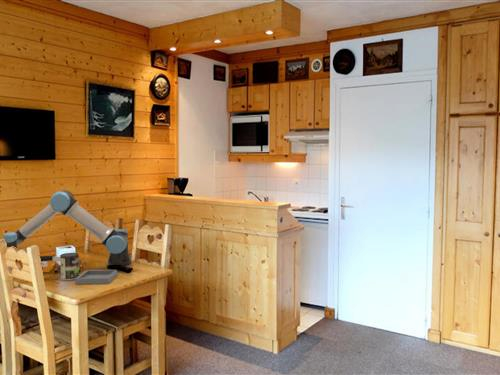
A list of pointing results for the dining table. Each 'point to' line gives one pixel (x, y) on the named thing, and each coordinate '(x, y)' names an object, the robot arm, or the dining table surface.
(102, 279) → the tray
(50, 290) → the dining table surface
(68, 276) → the coffee can
